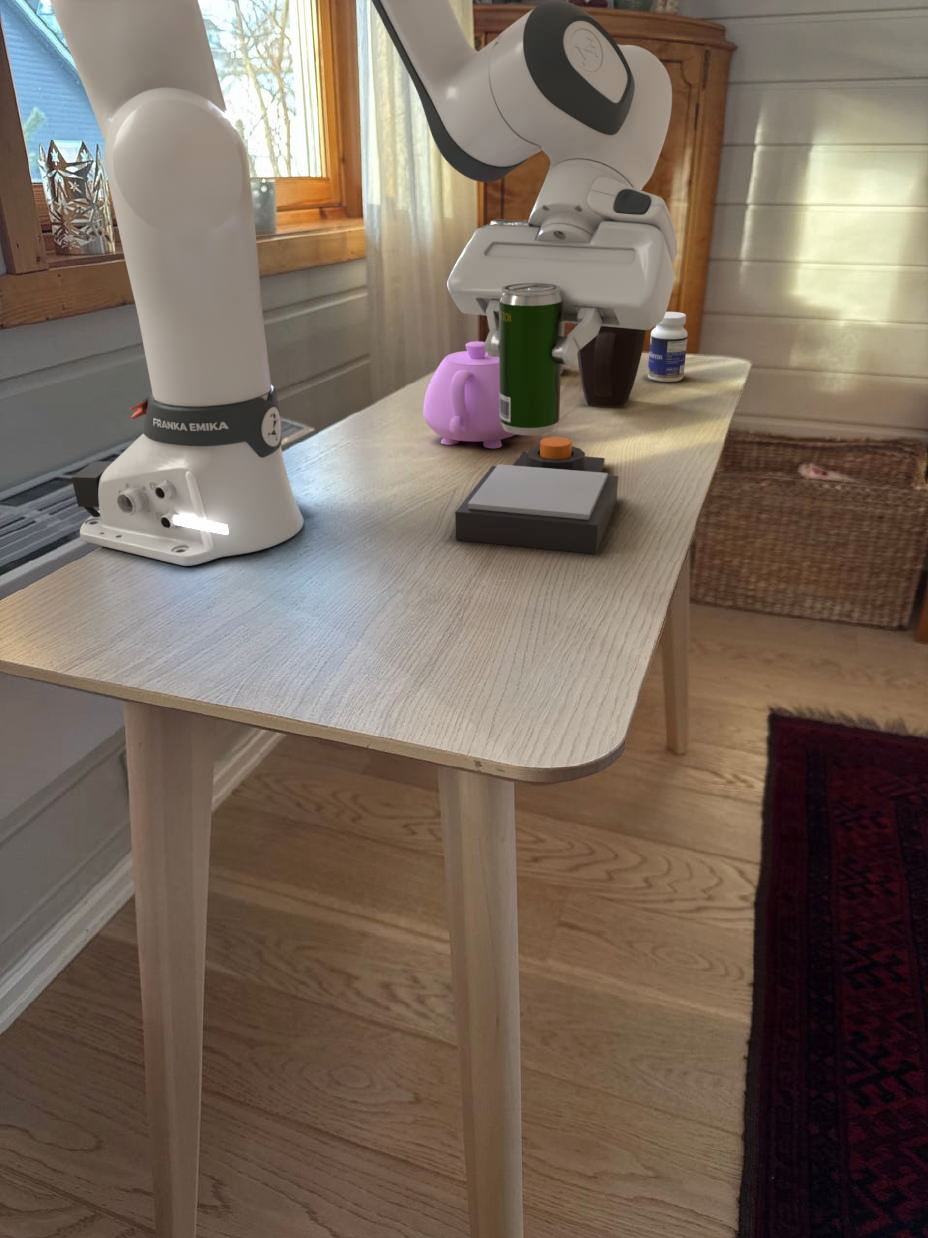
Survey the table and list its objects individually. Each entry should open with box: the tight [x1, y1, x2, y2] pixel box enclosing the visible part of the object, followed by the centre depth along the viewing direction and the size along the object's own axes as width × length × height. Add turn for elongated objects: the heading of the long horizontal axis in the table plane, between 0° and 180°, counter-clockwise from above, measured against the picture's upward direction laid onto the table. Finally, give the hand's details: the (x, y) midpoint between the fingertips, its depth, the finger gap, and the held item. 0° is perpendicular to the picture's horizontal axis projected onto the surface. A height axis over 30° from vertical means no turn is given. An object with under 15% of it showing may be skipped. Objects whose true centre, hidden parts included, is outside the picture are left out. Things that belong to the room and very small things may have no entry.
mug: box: [575, 324, 647, 408], centre depth 128 cm, size 10×14×12 cm
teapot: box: [422, 341, 517, 449], centre depth 116 cm, size 20×14×12 cm
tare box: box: [512, 445, 606, 473], centre depth 104 cm, size 10×10×3 cm
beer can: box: [499, 283, 563, 436], centre depth 78 cm, size 5×5×12 cm
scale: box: [454, 463, 619, 555], centre depth 92 cm, size 14×14×4 cm
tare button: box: [539, 436, 573, 459], centre depth 103 cm, size 4×4×2 cm
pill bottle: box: [647, 311, 688, 383], centre depth 142 cm, size 6×6×10 cm
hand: (527, 356), depth 77 cm, fingers closed on beer can, 5 cm apart
